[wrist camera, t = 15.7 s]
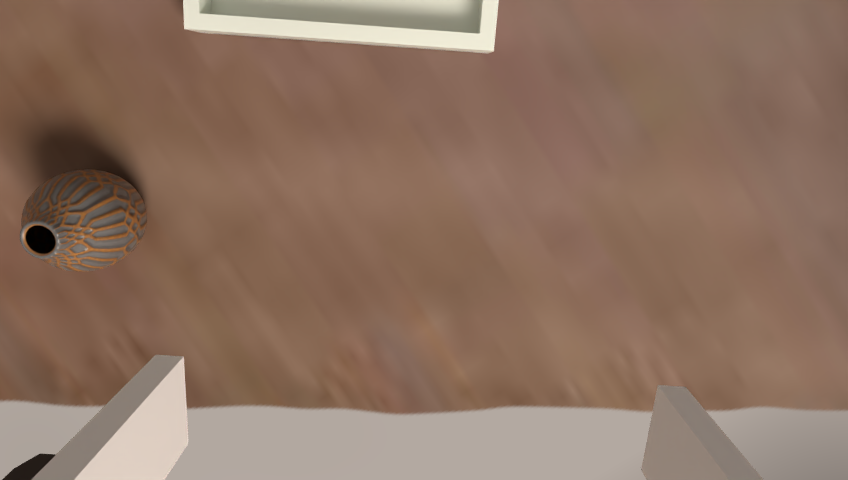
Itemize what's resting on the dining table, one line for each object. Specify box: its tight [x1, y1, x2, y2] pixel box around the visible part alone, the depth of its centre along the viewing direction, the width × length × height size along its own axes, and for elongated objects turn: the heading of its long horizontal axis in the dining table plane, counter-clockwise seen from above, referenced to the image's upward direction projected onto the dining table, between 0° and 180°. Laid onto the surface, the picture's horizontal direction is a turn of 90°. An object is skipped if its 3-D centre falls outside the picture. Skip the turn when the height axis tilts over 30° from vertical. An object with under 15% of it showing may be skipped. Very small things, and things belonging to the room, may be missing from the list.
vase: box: [20, 169, 147, 272], centre depth 38 cm, size 7×7×9 cm
